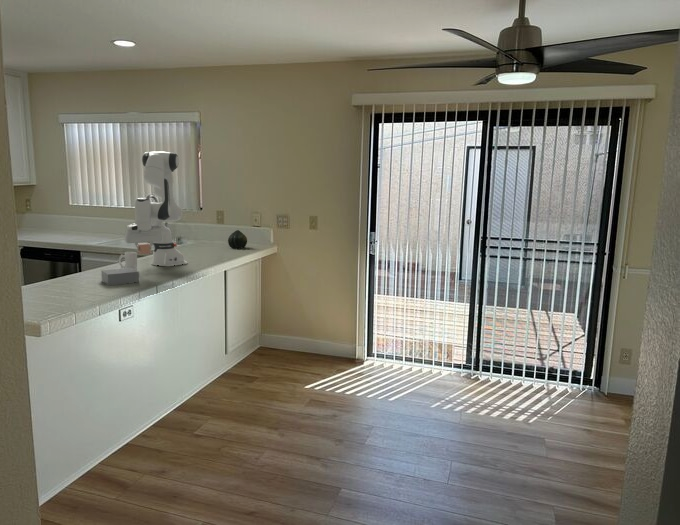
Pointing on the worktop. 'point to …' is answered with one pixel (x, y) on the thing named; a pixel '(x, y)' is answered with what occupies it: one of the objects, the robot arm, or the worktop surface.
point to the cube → (144, 248)
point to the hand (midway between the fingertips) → (143, 250)
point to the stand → (120, 276)
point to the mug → (129, 260)
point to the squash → (237, 240)
